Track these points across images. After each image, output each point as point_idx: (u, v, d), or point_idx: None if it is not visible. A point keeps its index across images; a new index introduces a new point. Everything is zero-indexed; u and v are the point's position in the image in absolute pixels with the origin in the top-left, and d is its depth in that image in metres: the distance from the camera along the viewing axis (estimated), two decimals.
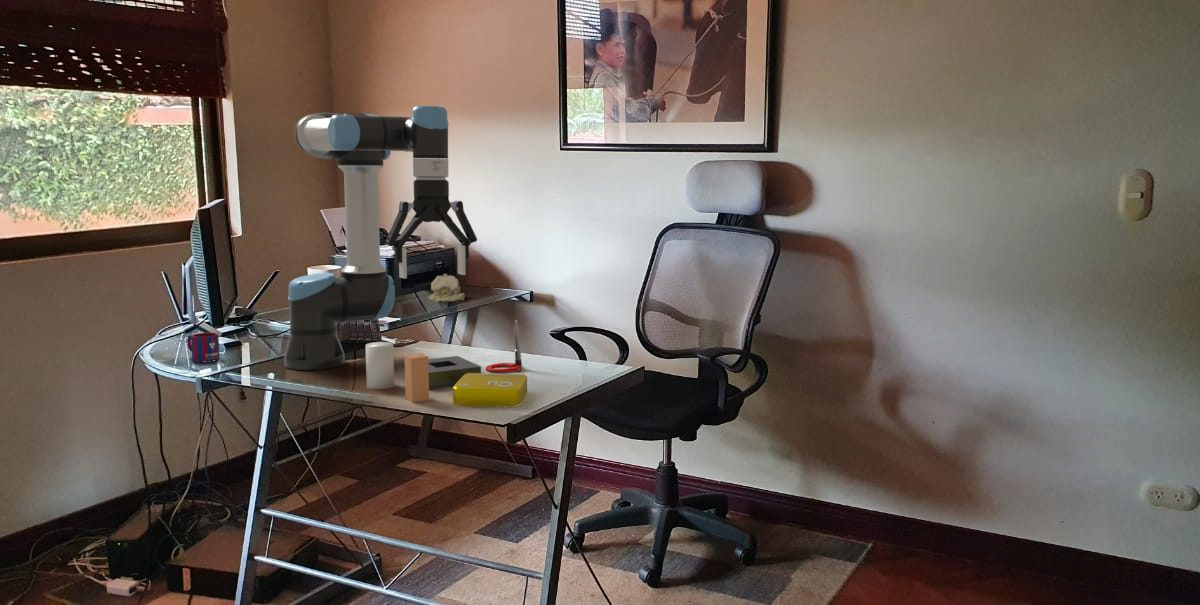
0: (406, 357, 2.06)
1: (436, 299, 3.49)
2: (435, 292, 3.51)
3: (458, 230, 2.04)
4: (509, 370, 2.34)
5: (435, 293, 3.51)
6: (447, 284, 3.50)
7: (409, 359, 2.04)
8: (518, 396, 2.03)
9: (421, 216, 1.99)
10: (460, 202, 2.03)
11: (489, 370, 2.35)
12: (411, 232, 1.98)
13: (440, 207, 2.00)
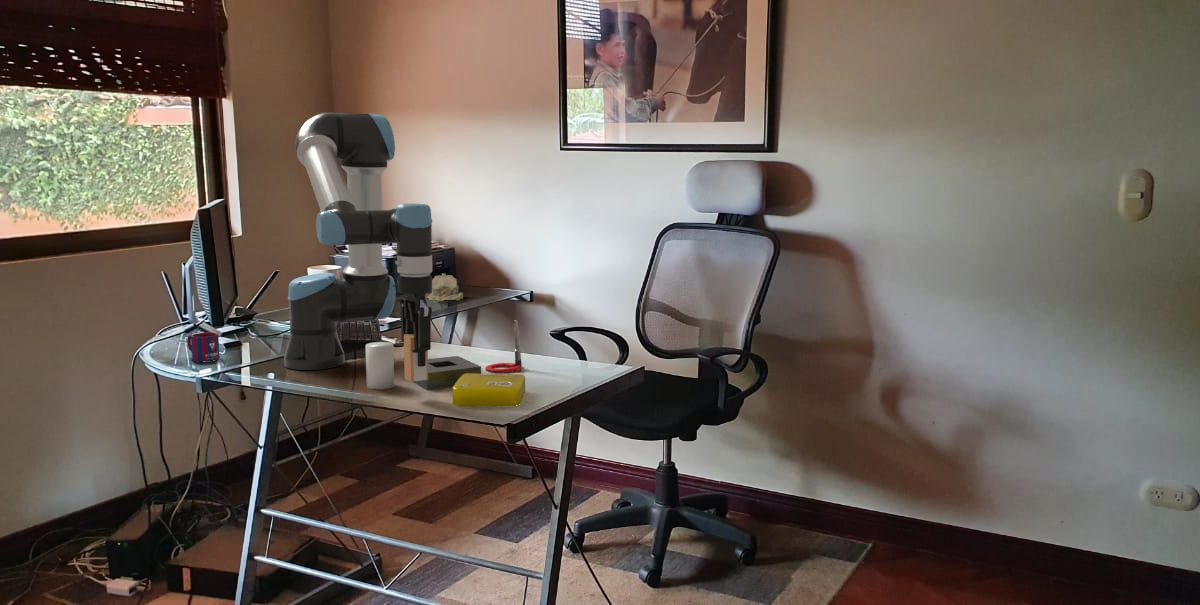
0: (405, 336, 2.06)
1: (436, 299, 3.50)
2: (434, 292, 3.51)
3: (415, 334, 2.03)
4: (509, 370, 2.34)
5: (434, 293, 3.51)
6: (446, 284, 3.51)
7: (408, 338, 2.04)
8: (518, 396, 2.03)
9: (404, 311, 2.06)
10: (420, 309, 1.99)
11: (489, 370, 2.35)
12: (406, 329, 2.07)
13: (409, 303, 2.02)
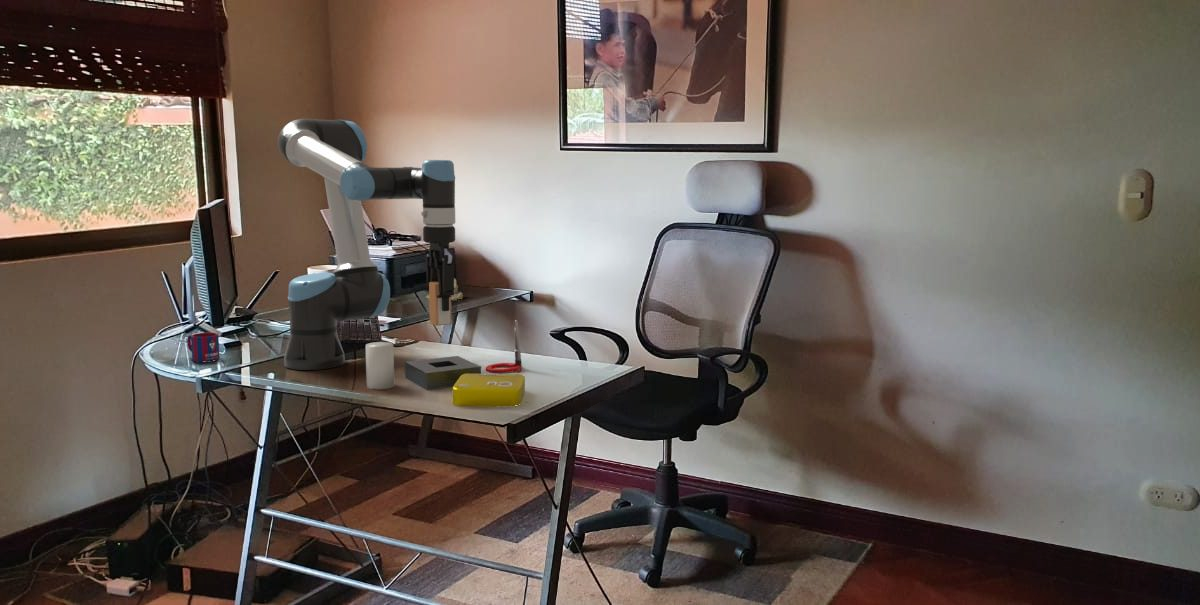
0: (430, 284, 2.21)
1: None
2: None
3: (439, 280, 2.18)
4: (509, 370, 2.34)
5: None
6: None
7: (433, 285, 2.20)
8: (518, 396, 2.03)
9: (429, 261, 2.21)
10: (444, 256, 2.15)
11: (489, 370, 2.35)
12: (431, 277, 2.23)
13: (433, 252, 2.18)
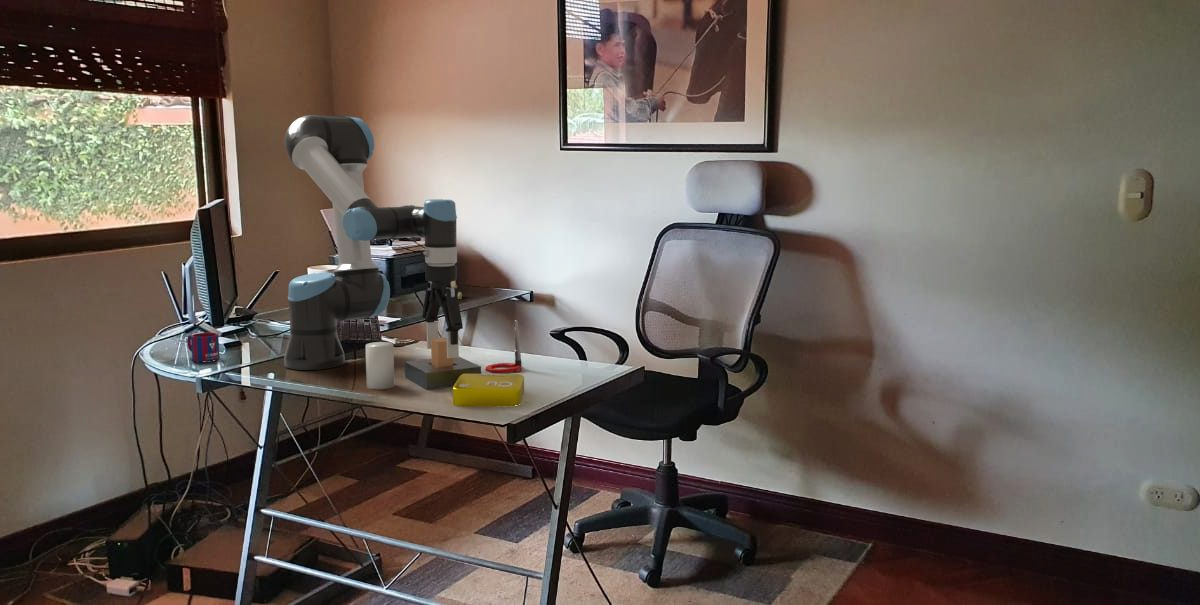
0: (433, 341, 2.24)
1: None
2: None
3: (445, 315, 2.18)
4: (509, 370, 2.34)
5: None
6: None
7: (436, 343, 2.23)
8: (519, 396, 2.03)
9: (430, 296, 2.24)
10: (446, 290, 2.16)
11: (489, 370, 2.35)
12: (429, 309, 2.27)
13: (435, 290, 2.20)
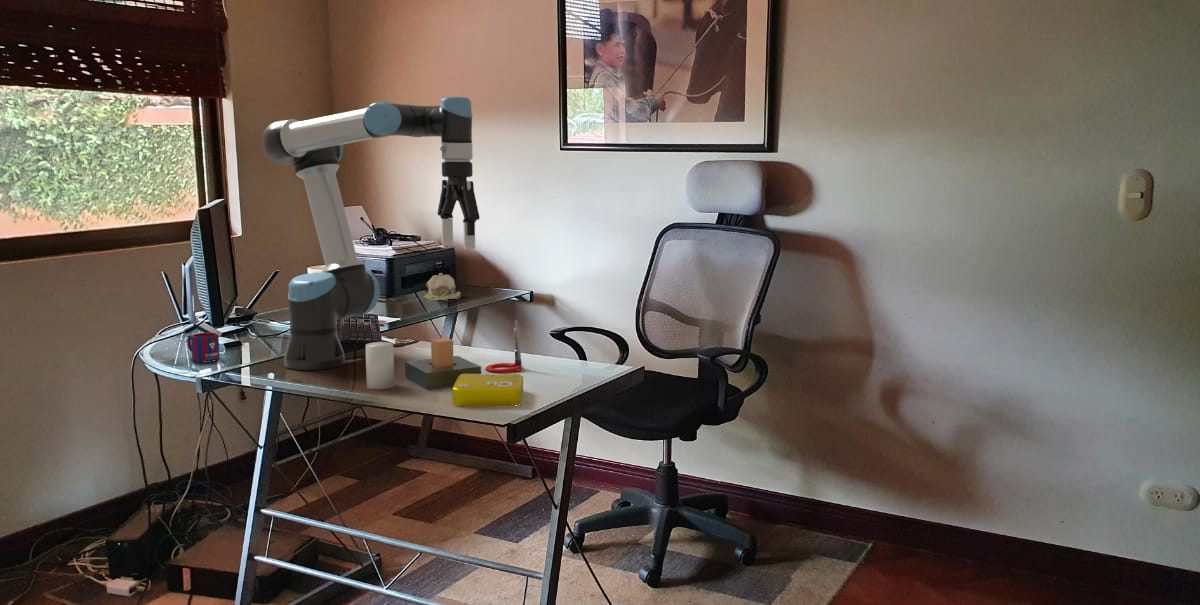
0: (433, 341, 2.24)
1: (435, 298, 3.51)
2: (433, 291, 3.52)
3: (462, 207, 2.25)
4: (509, 370, 2.34)
5: (433, 292, 3.52)
6: (444, 284, 3.53)
7: (436, 343, 2.23)
8: (519, 396, 2.04)
9: (446, 192, 2.31)
10: (463, 182, 2.24)
11: (489, 370, 2.35)
12: (445, 206, 2.34)
13: (452, 186, 2.27)
